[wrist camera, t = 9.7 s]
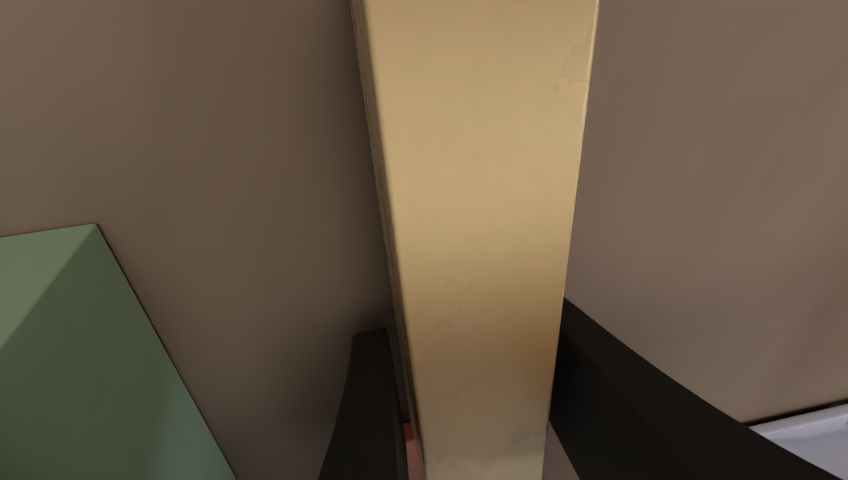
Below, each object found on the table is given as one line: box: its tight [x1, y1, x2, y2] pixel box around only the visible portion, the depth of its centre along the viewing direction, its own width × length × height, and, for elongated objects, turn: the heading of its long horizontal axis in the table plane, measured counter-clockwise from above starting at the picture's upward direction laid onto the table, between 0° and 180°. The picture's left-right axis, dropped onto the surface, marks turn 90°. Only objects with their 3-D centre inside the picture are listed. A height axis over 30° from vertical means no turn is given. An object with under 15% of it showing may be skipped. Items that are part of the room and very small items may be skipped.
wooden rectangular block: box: [349, 0, 600, 480], centre depth 11 cm, size 18×5×3 cm, turn 5°
